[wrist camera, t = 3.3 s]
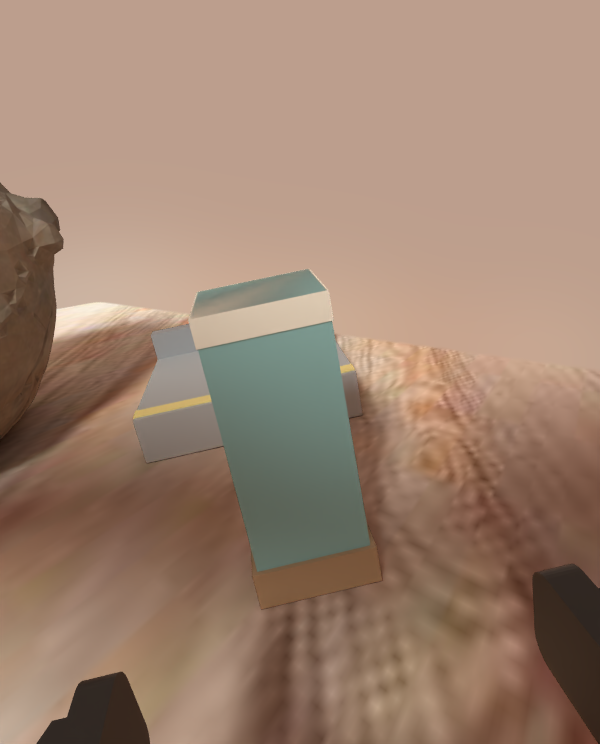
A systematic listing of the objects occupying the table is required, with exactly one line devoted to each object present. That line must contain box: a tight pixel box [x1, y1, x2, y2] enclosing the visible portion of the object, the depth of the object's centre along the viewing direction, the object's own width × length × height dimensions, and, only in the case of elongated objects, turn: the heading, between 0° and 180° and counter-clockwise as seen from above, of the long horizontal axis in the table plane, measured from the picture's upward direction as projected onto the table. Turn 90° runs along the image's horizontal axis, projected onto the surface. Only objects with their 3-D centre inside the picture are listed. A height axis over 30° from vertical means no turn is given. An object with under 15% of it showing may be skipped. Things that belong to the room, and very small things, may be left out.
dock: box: [133, 324, 363, 463], centre depth 39 cm, size 14×13×5 cm
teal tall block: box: [188, 269, 382, 610], centre depth 21 cm, size 5×5×12 cm
